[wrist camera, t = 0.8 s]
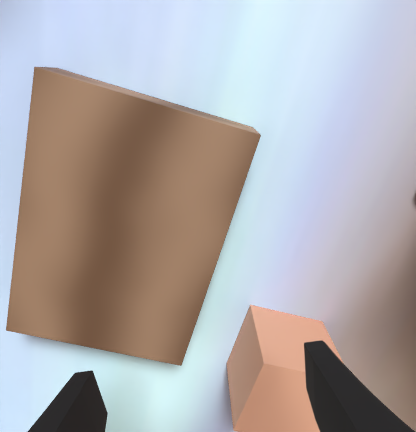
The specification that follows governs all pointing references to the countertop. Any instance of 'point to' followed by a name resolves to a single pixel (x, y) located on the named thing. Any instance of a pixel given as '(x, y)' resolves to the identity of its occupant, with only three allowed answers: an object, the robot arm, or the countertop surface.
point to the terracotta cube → (272, 372)
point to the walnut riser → (121, 215)
